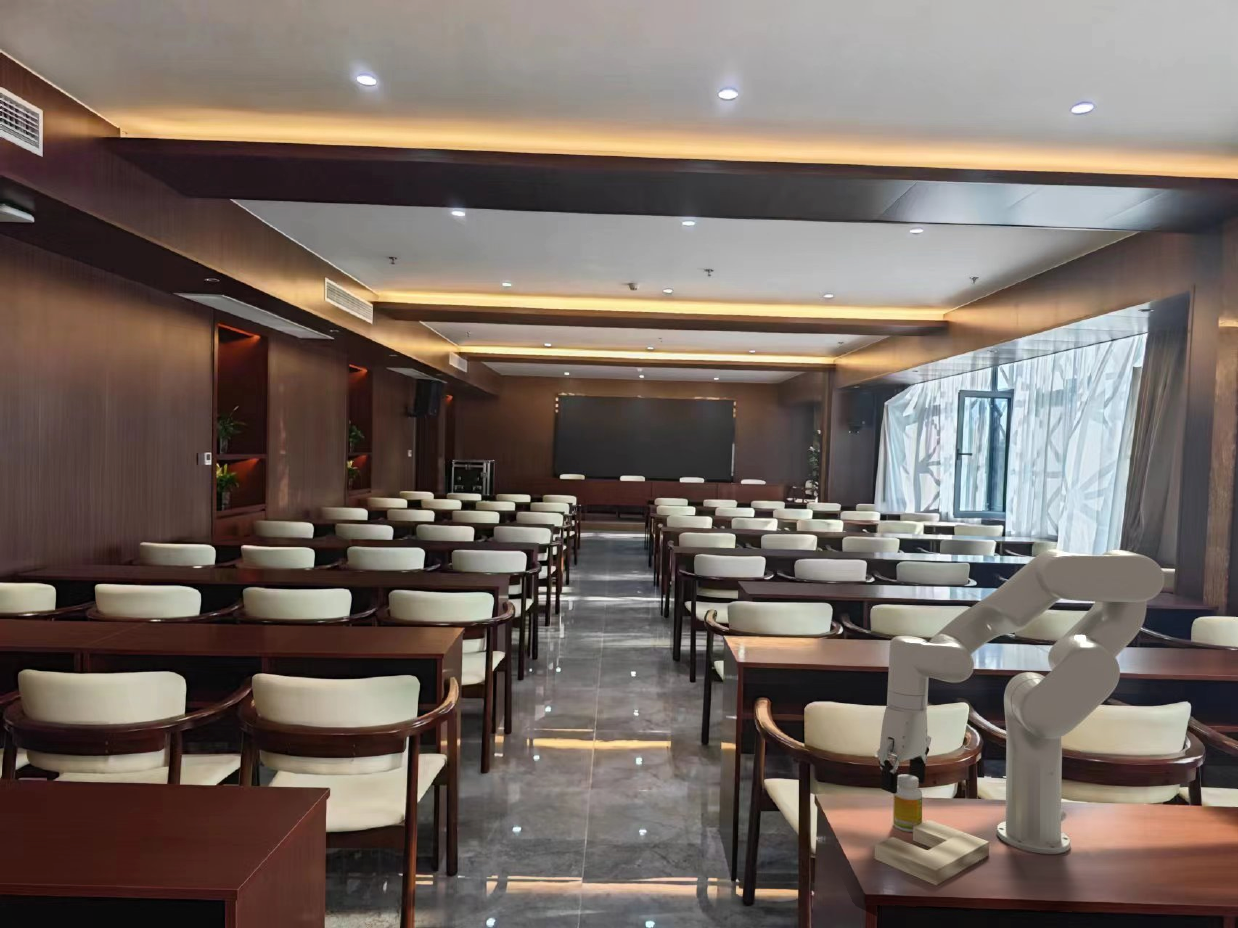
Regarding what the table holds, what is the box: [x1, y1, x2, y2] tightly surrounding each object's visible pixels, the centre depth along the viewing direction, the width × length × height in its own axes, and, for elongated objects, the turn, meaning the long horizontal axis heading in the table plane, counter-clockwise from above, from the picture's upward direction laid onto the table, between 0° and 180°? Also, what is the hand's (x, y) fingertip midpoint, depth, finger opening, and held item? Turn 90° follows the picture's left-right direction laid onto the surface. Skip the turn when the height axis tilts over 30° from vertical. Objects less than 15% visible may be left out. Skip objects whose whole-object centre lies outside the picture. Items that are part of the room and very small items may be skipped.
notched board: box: [874, 819, 990, 886], centre depth 151 cm, size 18×12×2 cm, turn 129°
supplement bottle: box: [892, 773, 923, 833], centre depth 164 cm, size 5×5×10 cm
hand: (903, 786), depth 164 cm, fingers open, 9 cm apart
